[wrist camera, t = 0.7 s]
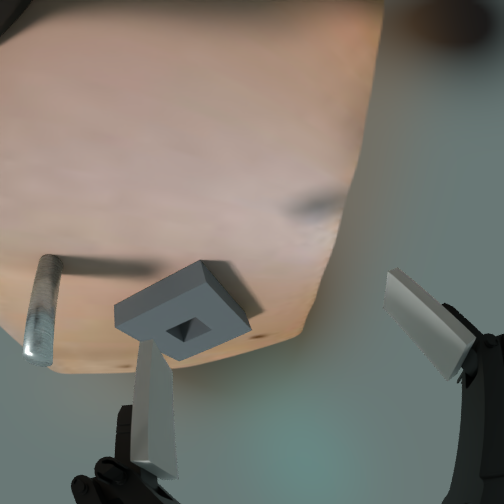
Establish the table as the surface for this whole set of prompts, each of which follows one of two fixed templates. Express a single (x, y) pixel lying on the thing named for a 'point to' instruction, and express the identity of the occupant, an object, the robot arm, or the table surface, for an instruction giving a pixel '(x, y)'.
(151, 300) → the hole block
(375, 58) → the table surface
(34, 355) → the peg
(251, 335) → the table surface
